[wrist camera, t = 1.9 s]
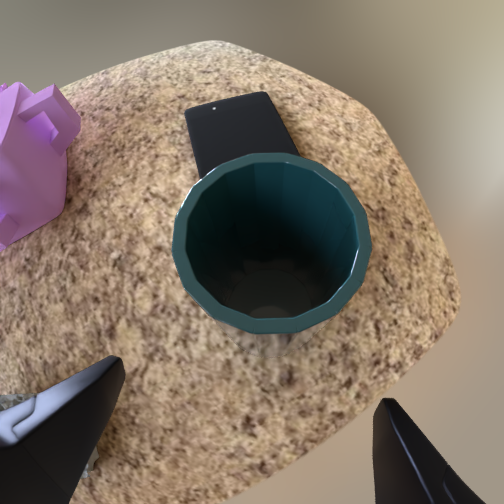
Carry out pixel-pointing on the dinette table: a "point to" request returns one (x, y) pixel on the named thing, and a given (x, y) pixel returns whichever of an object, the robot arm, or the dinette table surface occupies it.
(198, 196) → the tumbler
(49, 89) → the teakettle
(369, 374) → the dinette table surface
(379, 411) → the robot arm
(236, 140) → the cell phone
